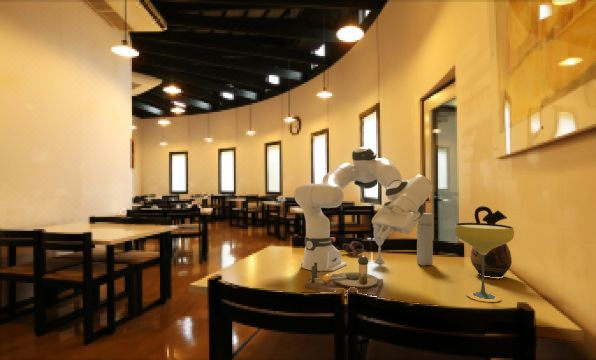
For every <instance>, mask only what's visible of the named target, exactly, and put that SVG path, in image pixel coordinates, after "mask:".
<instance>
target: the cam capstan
mask: <svg viewBox="0 0 596 360" xmlns="http://www.w3.org/2000/svg"><path fill="white" fill-rule="evenodd" d="M357 263H358V272H355V271H354V272H353V271H352V272H351V271H350V272H341V273H340V272H339V273H336V274H337V275H335V276H334V278H331V276H330V275H329V274H324V275H322V276H321V278H322V281H323V282H324V283H326V284H327V283H329V282H330V281H334V282H335V283H336V284H337V285H340V286H343V287H348V288H350V287H355V288H370V287H374V286H376V285H377V277H376V276H375V275H373V274H372V275H371V274H369V273H368V264H369V258H368V257H367V256H365V255H360V256H359V257H358V259H357Z"/></svg>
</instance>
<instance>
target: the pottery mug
mask: <svg viewBox="0 0 596 360" xmlns="http://www.w3.org/2000/svg"><path fill="white" fill-rule="evenodd" d="M358 246H360V247H361V248H356V247H358ZM342 249H343V250H344V251H345V252H346V253H347V254H351V253H352V254H351V256H353V257H356V256H357V255H361V254H363V252H364V251H365V245H364V244H363V243H361V242H360V241H355V240H354V241H351V242H350V243H347V242H346V243H343V244H342Z"/></svg>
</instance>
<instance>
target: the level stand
mask: <svg viewBox="0 0 596 360" xmlns="http://www.w3.org/2000/svg"><path fill="white" fill-rule="evenodd" d="M337 274H338V273H333V274H331V276H330V277H331V278H334V276H335V275H337ZM310 275H311V278H310V279H308V280H306V281H305V282H304V283H305V285H304V288H305V289H307V290H309V289H310V290H317V291H318V293H319V292H334V291H335V290H336V289H338V288H344V289H345V294H346V293H347V290H348V289H349V288H348V287H343V286H340V285H337V284H336V283H335V282H334V281H330V282H329V283H327V284H326V283H324V282H323V281H322V277H321V276H320V277H318V271H317V263H314V266H312V270H311V274H310ZM376 278H377V277H376ZM382 285H384V278H377V285H376V286H374V287H370V288H357V290H358V293H362V294H367V295H372V296H378V297H379V295H380V292H381V290H382V288H383V286H382Z"/></svg>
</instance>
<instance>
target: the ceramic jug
mask: <svg viewBox="0 0 596 360" xmlns="http://www.w3.org/2000/svg"><path fill="white" fill-rule="evenodd" d="M482 212H487V214H486V215H484V217H483V218H482V222H486V223H487V224H497V223H498V222H500V221H503V220H506V219H508V218H507V216H505V214H503V213H502V211H499V210H498V209H497V210H496V211H495V212H493V211H492V209H491V208H490V207H488V206H484V205H481V206H480V205H479V206H478V207H477V208H476V209H475V211H474V214H473V215H474V219H475V223H481V220H480V216H479V213H482ZM471 247H472V248H471V250H470V261H471V264H472V267H474V269H475V270H476V271H477V274H478V273H479V274H481V275H482V255H481V254H480V253H479V252H478V250H477V249H476V248H475V247H473V246H471ZM512 261H513V260H512V254H511V250H510V248H509V246H508V243H506V244H504V245H501V246H498V247H496V248H493V249H491V250H490V251H489V252H488V253H487V254H486V255H484V276H490V277H502V276H503V277H504V275H506V273H507V272H508V271H509V270H510V268H511V267H512V263H513V262H512Z"/></svg>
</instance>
